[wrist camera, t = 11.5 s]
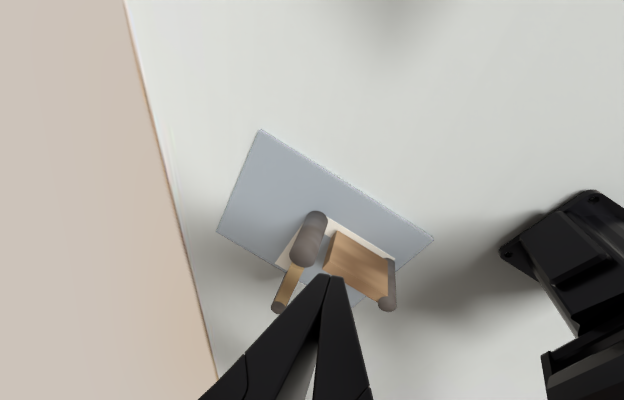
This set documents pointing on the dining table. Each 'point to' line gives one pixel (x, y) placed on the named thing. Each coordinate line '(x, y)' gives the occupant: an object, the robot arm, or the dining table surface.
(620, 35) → the dining table surface
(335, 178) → the card
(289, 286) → the fence panel
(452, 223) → the dining table surface
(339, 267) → the fixed fence
